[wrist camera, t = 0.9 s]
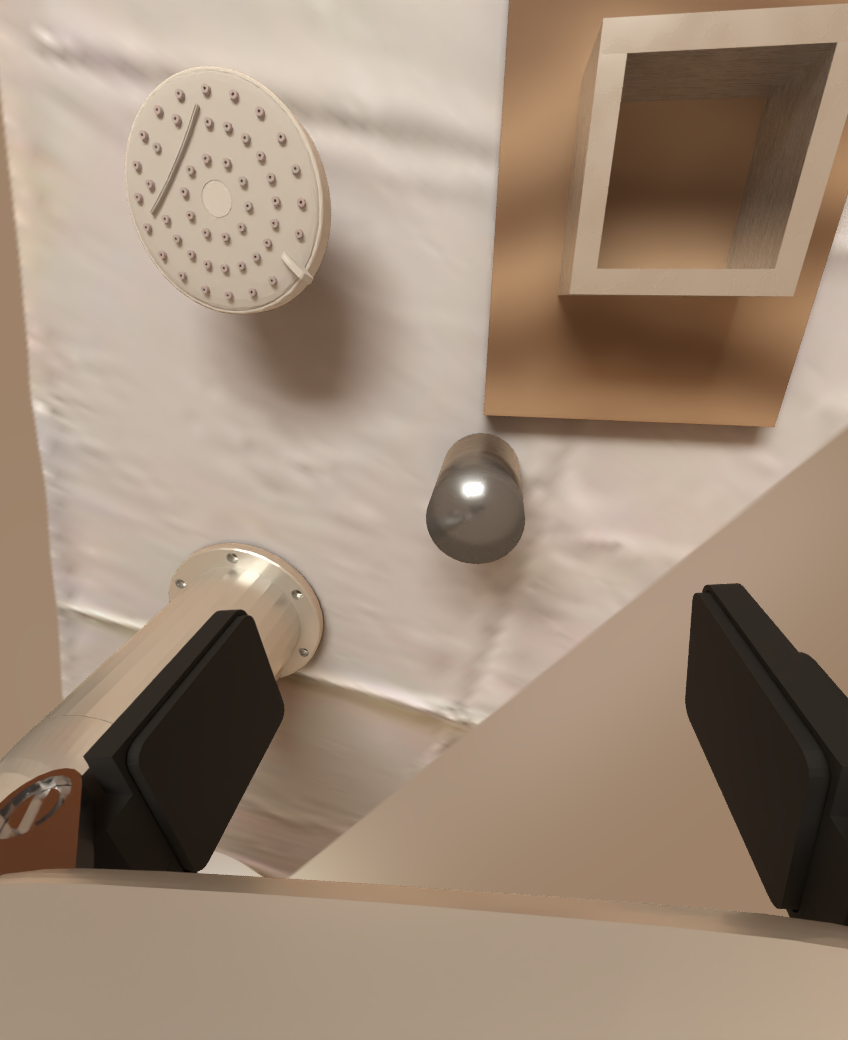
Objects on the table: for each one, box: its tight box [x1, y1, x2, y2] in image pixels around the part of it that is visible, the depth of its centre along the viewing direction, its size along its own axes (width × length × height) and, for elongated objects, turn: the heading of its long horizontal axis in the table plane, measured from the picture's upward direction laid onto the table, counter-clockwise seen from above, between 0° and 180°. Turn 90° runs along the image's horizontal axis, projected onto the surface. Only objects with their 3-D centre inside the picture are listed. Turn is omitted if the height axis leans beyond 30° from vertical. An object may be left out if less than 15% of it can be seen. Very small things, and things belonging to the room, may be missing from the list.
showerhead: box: [125, 66, 331, 314], centre depth 24 cm, size 9×7×10 cm
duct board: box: [484, 0, 848, 427], centre depth 22 cm, size 20×16×6 cm
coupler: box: [426, 433, 525, 564], centre depth 28 cm, size 5×5×8 cm
